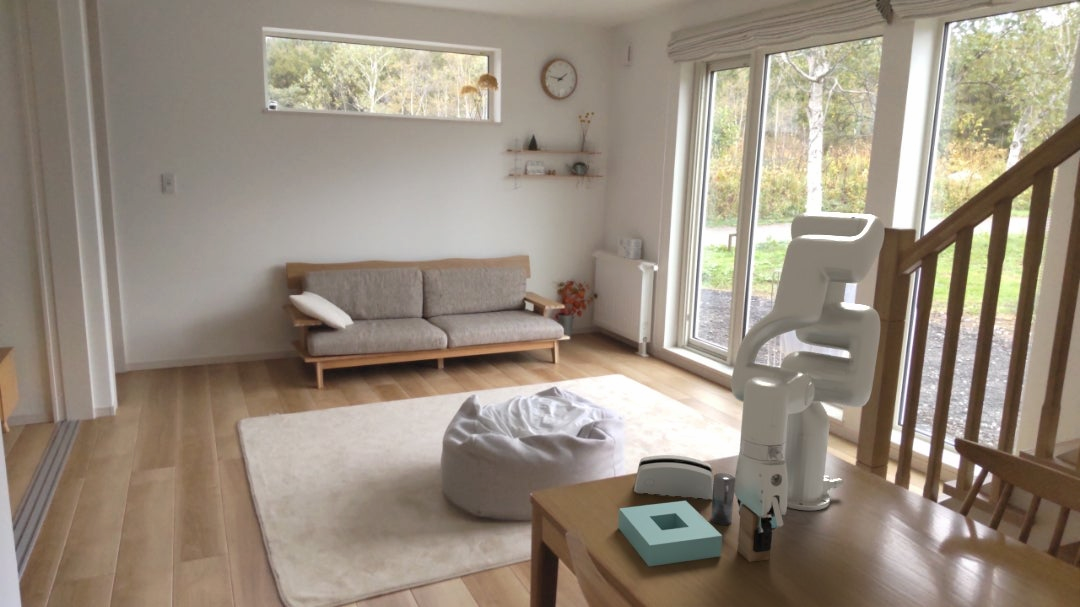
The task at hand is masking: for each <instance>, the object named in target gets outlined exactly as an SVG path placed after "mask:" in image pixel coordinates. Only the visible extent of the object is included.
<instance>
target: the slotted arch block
mask: <svg viewBox="0 0 1080 607" xmlns="http://www.w3.org/2000/svg"><path fill="white" fill-rule="evenodd" d="M713 482H714V475H713V469H712V465H711V464H710V463H708V462H705V461H704V460H700V459H697V458H693V457H689V456H684V455H683V456H682V455H673V454H670V455H669V454H663V455H662V454H661V455H651V456H645V457H642V458H641V459H640V461H639V463H638V466H637V472H636V476H635V480H634V488H633V490H634V493H635V492H636V493H635V494H643V493H648V494H647V495H654V494H660V495H659V496H665V495H669V496H668V497H675V496H683V497H682V498H686V497H695V498H694V499H697V498H703V499H702V500H708V499H711V500H710V501H712V497H713Z"/></svg>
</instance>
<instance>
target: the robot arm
mask: <svg viewBox="0 0 1080 607" xmlns="http://www.w3.org/2000/svg"><path fill="white" fill-rule="evenodd" d="M790 235H791V236H790V237H791V241H790V242H789V244H788V246H787V248H786V251H785V257H784V260H783V264H782V269H781V273H780V278H779V282H778V286H777V290H776V295H775V298H774V299H775V300H774V304H773V306H772V309H771V311H770V312H768V314H766V315H765V316H763V317H762V318H761V319H760V320H758V321H757V322H756V323H755V324H754V325H753V326H752V327H751V328H750V329H749V331H748V332H747V333H746V335H745V336H744V337H743V339H742V340H741V343H740V345H739V347H738V351H737V353H736V357H735V362H734V366H733V370H732V375H731V383H730V386H731V388H730V389H731V392H732V393H731V394H732V395H733V397H734V398H735V399H736V400H738V401H739V402H741V403H742V416H741V426H740V427H741V429H740V430H741V431H740V440H739V441H740V443H739V452H738V457H737V461H736V468H735V475H734V478H735V485H734V496H735V497H736V500H737V505H738V507H739V509H738V515H739V517H740V511H741V504H745V505H746V506H747V507H748V508H750V509H751V510H752V511H753V512H754V513H756V514H757V530H755V533H754V545H753V550H754V551H755V552H763V551H769V550H770V551H771V548H772V537H773V532H774V531H775V529H777V528H781V527H783V526H784V521H783V516H786V514H787V508H789V509H792V510H798V511H799V510H800V511H809V512H810V511H811V512H812V511H820V510H823V509H826V508H827V507H828V506H829V505H830V503H831V497H830V494H829V493H828V491H830V490H831V489H840V488H842V487H843V486H844V483H843V480H842V479H841V478H832V479H830V477H829V475H825V474H826V463H827V454H828V445H829V444H828V443H829V432H830V419H829V414H828V413H827V411H826V409H825V407H824V405H823V404H822V403H827V404H828V403H829V404H833V405H838V406H843V407H850V408H861V407H864V406H866V404H867V403H868V402H869V400H870V397H871V394H872V389H873V383H874V379H875V378H874V377H875V372H876V365H877V359H878V358H877V357H878V350H879V346H880V345H879V344H880V338H881V337H880V336H881V319H880V315H879V313H878V311H877V309H875V308H873V307H871V306H868V305H864V304H859V303H858V304H857V303H849V302H845V295H846V287H847V284H853V285H854V284H858V283H859V284H860V283H861V282H863V280H865V278H866V277H867V275H868V274H869V272H870V270H871V268H872V267H873V264H874V263H875V261H876V259H877V257H878V256H879V254H880V252H881V250H882V247H883V244H884V240H885V226H884V223H883V221H882V219H881V218H880V217H879V216H877V215H872V214H868V213H867V214H865V213H848V212H846V213H844V212H831V211H830V212H829V211H807V212H802V213H800V214H797V215H796V216H794V217H793V219H792V221H791V224H790ZM793 331H795V336H796V338H797V339H798V340H799V341H800V342H801V343H803V344H805V345H810V346H815V347H821V348H827V349H834V350H838V351H840V350H841V351H846V352H847V353H850V357H843V356H837V355H831V354H826V353H820V352H814V351H805V350H803V351H800V350H799V351H793V352H790V353H788V354H786V356H784V358H783V359H782V361H781V364H780V367H777V366H772V365H765V364H761V363H755V362H756V359H757V357H758V356H757V355H758V354H759V352H760V350H761V349H762V348H763V346H764V345H765V344H766V343H767V342H769V341H771V340H772V339H774V338H776V337H778V336H780V335H783V334H786V333H790V332H793ZM763 518H768V521H767V522H765V523H764V524H763Z"/></svg>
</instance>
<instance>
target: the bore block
mask: <svg viewBox="0 0 1080 607" xmlns="http://www.w3.org/2000/svg"><path fill="white" fill-rule="evenodd" d="M617 526H618V529H619V530H620V532H621V533H622V534H623V536H624V537H625V539H627V540H628V542H629V543H630V545H631V546H632V547H633V548H634V550H636V552H637V553H638V555H639V556H640V558H642V560H643V561H644V562H645V564H646V565H647V566H648V567H654V566H655V567H656V566H660V565H661V566H662V565H669V564H675V563H683V562H690V561H697V560H703V559H711V558H718V557H721V556H722V543H723V534H721V533H720V532H719V531H718V530H717V529H716V528H715V526H713V525H712V524H711V523H710V522H708V520H707V519H706V518H704V516H702V514H700V513H699V511H697V509H695V507H693V506H692V505H691V504H690V503H689V502H688V501H687V500H679V501H671V502H662V503H655V504H645V505H636V506H630V507H629V506H628V507H621V508H619V509H618V525H617Z"/></svg>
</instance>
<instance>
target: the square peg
mask: <svg viewBox="0 0 1080 607" xmlns="http://www.w3.org/2000/svg"><path fill="white" fill-rule="evenodd" d="M767 521H768V518H763V524H764V523H765V522H767ZM755 530H757V514H756V513H754V512H753V511H752V510H751V509H750V508H748V507H747V506H746V505H745V504H741V511H740V516H739V526H738V540H737V552H738V553H739V554H741V556H743V558H745V560H747V561H748V562H749V563H752V562H758V561H759V562H760V561H767V560H770V558H771V557H770V555H771V549H770V550H769V551H763V552H755V551H754V550H753V545H754V533H755Z"/></svg>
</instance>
